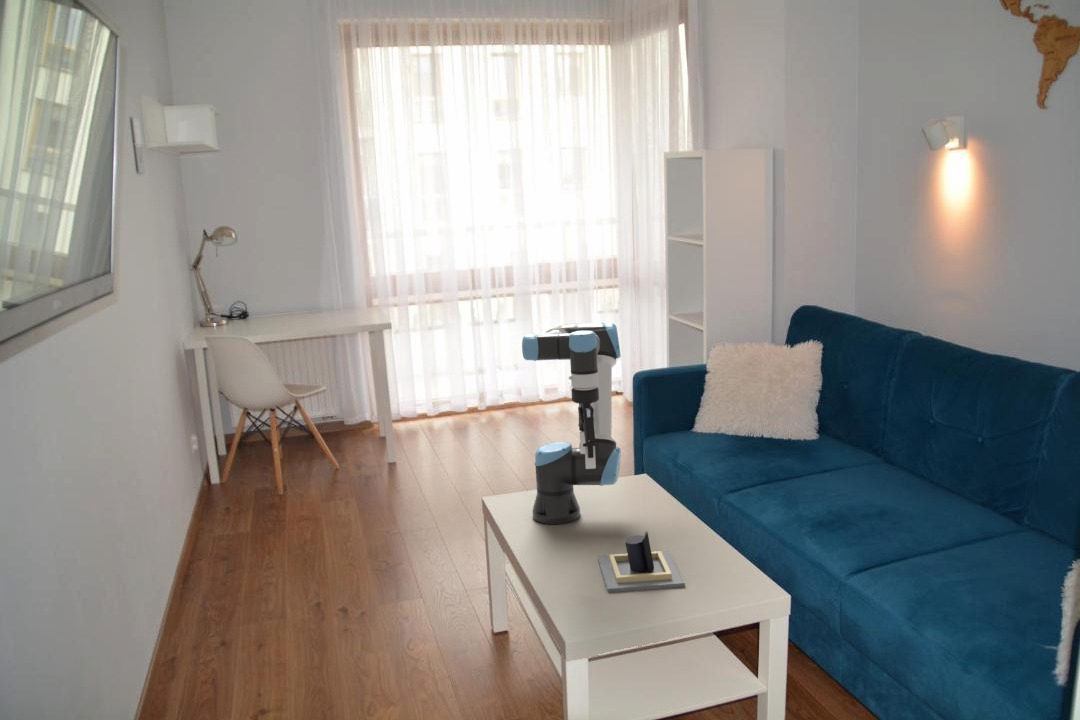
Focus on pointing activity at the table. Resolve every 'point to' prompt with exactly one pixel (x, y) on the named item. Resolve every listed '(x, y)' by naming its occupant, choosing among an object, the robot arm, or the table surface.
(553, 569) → the table surface
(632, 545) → the speaker
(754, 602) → the table surface
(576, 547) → the table surface
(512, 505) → the table surface
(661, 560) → the mount board
